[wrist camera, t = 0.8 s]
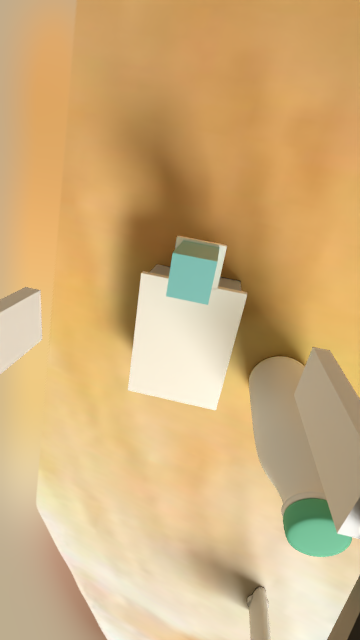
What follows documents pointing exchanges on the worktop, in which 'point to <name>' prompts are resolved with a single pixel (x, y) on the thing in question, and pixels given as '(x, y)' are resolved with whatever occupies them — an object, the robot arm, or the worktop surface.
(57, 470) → the worktop surface
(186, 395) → the lid
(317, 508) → the milk bottle
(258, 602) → the tall pale column
